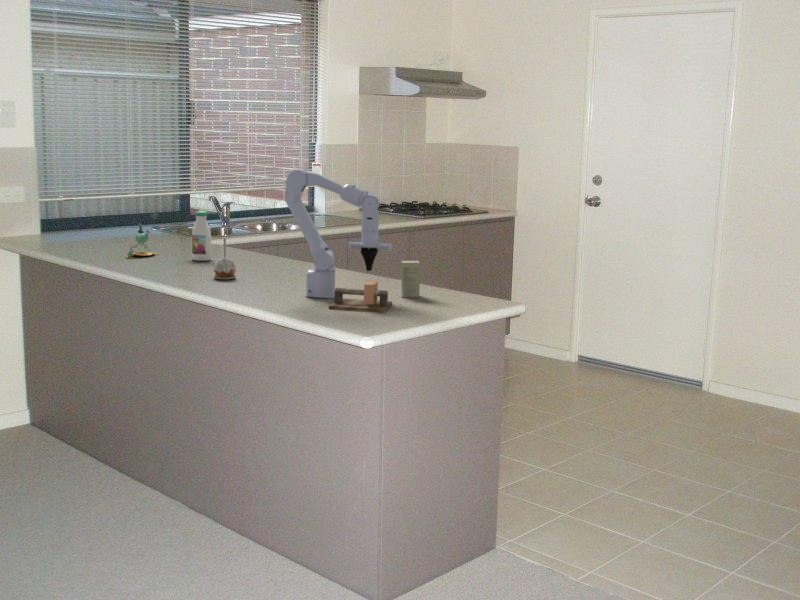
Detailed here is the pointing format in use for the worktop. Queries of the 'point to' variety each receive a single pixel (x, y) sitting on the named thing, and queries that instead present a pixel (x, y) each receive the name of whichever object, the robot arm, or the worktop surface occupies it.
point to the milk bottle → (201, 238)
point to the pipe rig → (359, 301)
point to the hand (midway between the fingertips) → (369, 270)
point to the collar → (370, 292)
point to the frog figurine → (140, 239)
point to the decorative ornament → (224, 267)
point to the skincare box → (410, 278)
